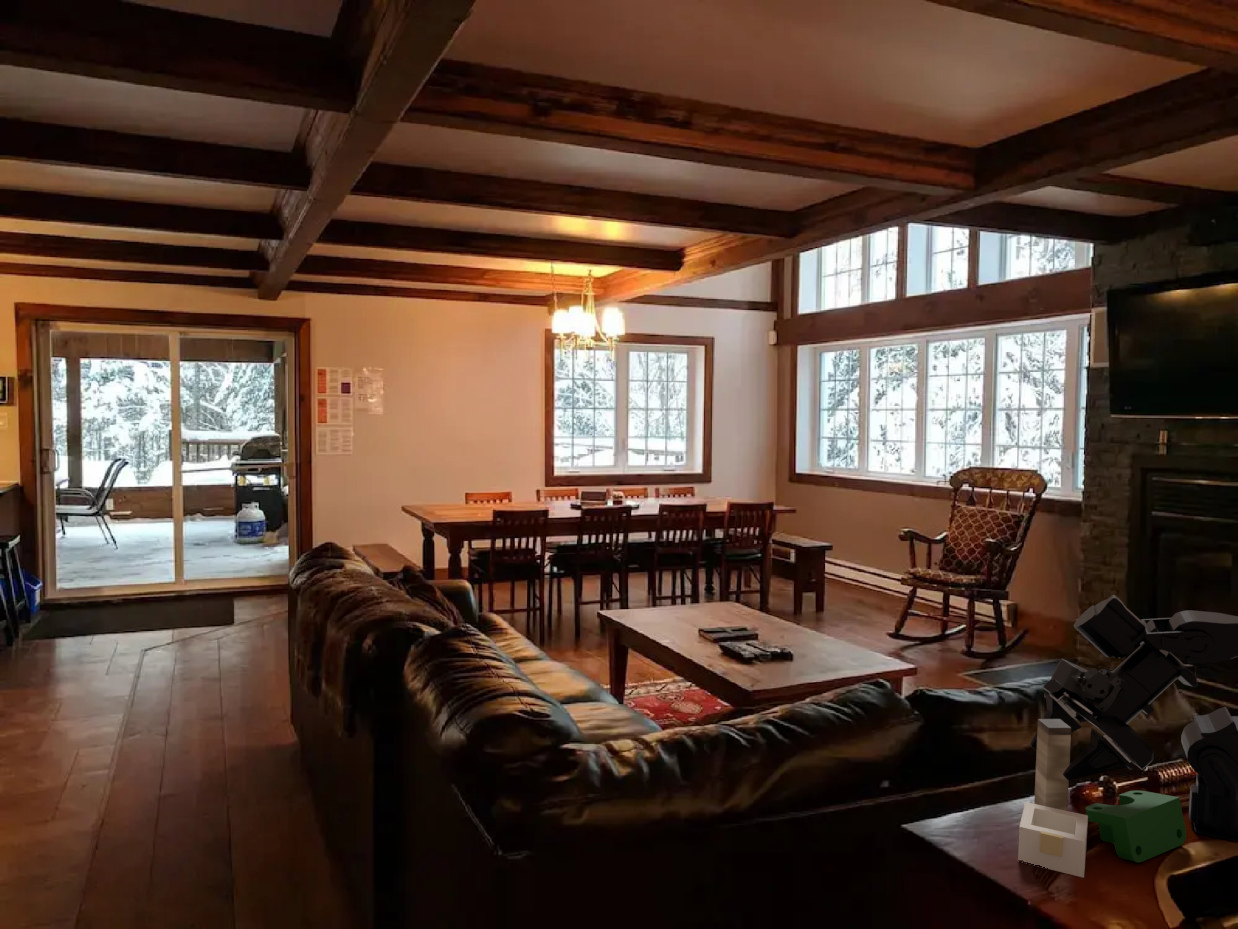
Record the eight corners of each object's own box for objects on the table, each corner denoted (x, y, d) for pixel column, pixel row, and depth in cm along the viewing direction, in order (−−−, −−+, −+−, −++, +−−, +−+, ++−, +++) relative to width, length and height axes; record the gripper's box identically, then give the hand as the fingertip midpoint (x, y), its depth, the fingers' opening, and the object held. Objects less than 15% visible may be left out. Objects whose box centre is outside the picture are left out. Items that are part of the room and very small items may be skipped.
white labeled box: (1086, 849, 110) (1088, 814, 110) (1083, 880, 103) (1085, 843, 103) (1023, 834, 114) (1025, 801, 113) (1017, 863, 107) (1018, 828, 106)
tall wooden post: (1055, 809, 120) (1059, 719, 119) (1066, 820, 117) (1071, 727, 116) (1034, 809, 120) (1037, 719, 119) (1044, 820, 117) (1048, 727, 116)
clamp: (1138, 863, 115) (1142, 792, 117) (1184, 874, 110) (1187, 800, 112) (1077, 847, 110) (1083, 773, 113) (1122, 858, 105) (1127, 781, 108)
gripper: (1060, 622, 126) (980, 696, 127) (1134, 665, 107) (1040, 751, 108) (1111, 675, 126) (1032, 748, 128) (1195, 727, 108) (1100, 811, 109)
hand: (1048, 762), depth 118 cm, fingers open, 9 cm apart
